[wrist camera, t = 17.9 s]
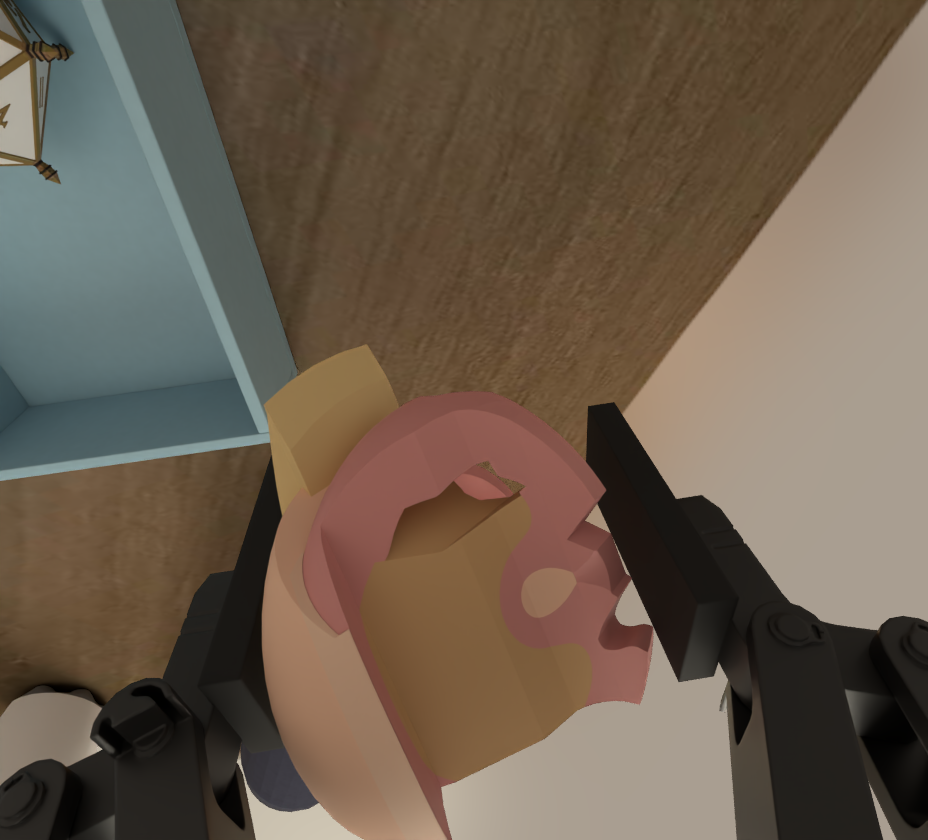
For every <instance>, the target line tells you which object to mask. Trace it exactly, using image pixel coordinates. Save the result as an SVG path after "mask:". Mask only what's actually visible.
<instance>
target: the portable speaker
mask: <svg viewBox="0 0 928 840" xmlns="http://www.w3.org/2000/svg"><path fill="white" fill-rule="evenodd" d="M241 763H242V767H243V771H244V774H245V777H246V781H247V784H248V786H249V788H250V790H251V792H252V793H253V794H254V796H255V797H256V798H257V799H258V800H259V801H260V802H262V803H263V804H265V805H266V806H268V807H269V808H272V809H275V810H279V811H287V812H292V811H299V810H304V809H309V808H311V807H312V806H314V805H316V804H317V803H319V802H318V801H317V800H316V799H315V798H314V796H313V795H312V793H311V792H310V790H309V789H308V787H307V786H306V784H305V783H304V781H303V780H302V778H301V777H300V775H299V774H298V772H297V770H296V769H295V767H294V765H293V763H292V760H291V758H290V756H289V754H288V752H287V750H286V748H281V749H275V750H269V751H263V752H257V753H250V752H249V750H248V749H247V748H246V747H245V745H244V744H243V743H242V744H241Z"/></svg>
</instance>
